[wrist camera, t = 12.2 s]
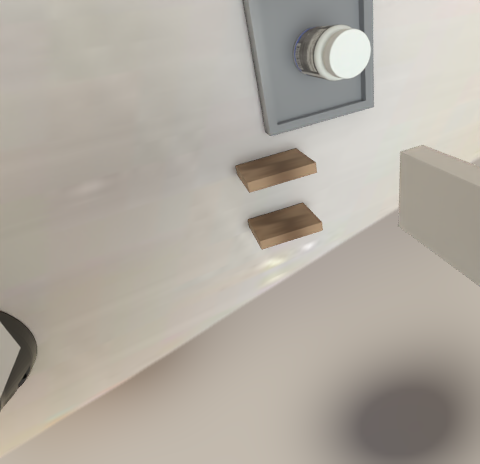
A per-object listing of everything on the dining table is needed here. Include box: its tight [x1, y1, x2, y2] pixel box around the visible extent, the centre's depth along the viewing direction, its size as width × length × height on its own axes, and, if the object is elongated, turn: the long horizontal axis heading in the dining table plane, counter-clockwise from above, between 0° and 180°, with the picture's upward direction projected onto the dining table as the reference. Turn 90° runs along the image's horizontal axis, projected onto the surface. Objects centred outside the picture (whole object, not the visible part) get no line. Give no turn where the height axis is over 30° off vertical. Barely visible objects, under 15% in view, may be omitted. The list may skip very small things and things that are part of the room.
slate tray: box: [243, 0, 374, 136], centre depth 38 cm, size 13×15×2 cm
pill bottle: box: [293, 25, 371, 81], centre depth 35 cm, size 5×5×8 cm
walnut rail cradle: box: [235, 148, 323, 249], centre depth 43 cm, size 8×9×6 cm
